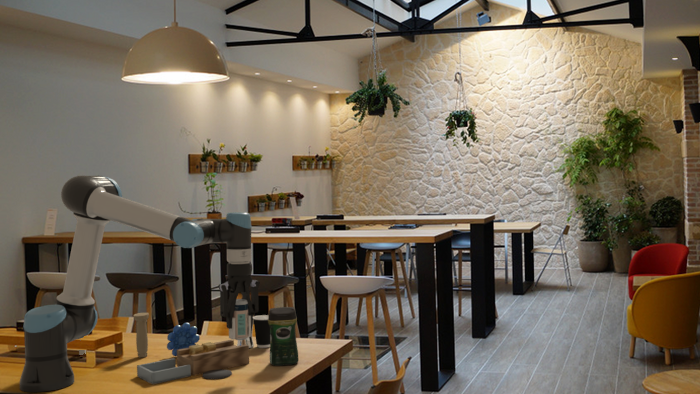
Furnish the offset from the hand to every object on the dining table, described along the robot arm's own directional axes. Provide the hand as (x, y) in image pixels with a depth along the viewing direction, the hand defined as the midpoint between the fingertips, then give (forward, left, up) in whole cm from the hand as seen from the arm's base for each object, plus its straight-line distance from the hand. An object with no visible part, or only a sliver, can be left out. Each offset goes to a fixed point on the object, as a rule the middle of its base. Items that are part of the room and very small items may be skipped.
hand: (239, 337), depth 206 cm
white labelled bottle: (0, 0, -1) cm, 1 cm away
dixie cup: (+26, +29, -12) cm, 40 cm away
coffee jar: (+18, +4, -12) cm, 23 cm away
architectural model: (-28, +63, -13) cm, 70 cm away
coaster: (-5, +7, -12) cm, 15 cm away
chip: (-6, +18, -8) cm, 20 cm away
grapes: (-2, +37, -12) cm, 39 cm away
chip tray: (-17, +18, -12) cm, 28 cm away
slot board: (0, +18, -12) cm, 22 cm away
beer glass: (+20, +32, -12) cm, 40 cm away
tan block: (-2, +18, -8) cm, 19 cm away
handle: (-13, +47, -12) cm, 50 cm away
